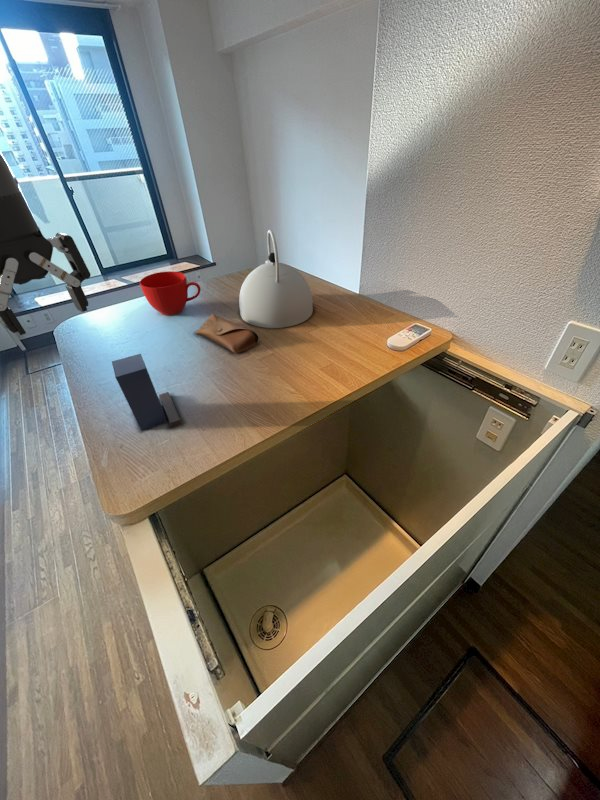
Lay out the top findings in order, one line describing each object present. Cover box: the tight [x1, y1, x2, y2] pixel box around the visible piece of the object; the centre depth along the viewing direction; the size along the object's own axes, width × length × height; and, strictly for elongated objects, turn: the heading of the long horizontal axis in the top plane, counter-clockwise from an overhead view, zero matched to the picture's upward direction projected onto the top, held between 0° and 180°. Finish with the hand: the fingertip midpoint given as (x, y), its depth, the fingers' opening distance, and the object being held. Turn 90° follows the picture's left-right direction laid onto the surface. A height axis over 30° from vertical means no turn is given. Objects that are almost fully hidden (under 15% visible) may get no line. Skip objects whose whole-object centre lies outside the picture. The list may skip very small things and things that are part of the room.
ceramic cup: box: [139, 270, 201, 316], centre depth 99 cm, size 13×17×10 cm
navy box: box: [111, 353, 168, 431], centre depth 62 cm, size 5×6×13 cm
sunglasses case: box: [194, 312, 259, 354], centre depth 89 cm, size 18×7×7 cm, turn 51°
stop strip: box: [158, 391, 182, 428], centre depth 67 cm, size 2×10×1 cm, turn 30°
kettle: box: [238, 229, 314, 329], centre depth 95 cm, size 25×23×23 cm
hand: (53, 321), depth 48 cm, fingers open, 8 cm apart
